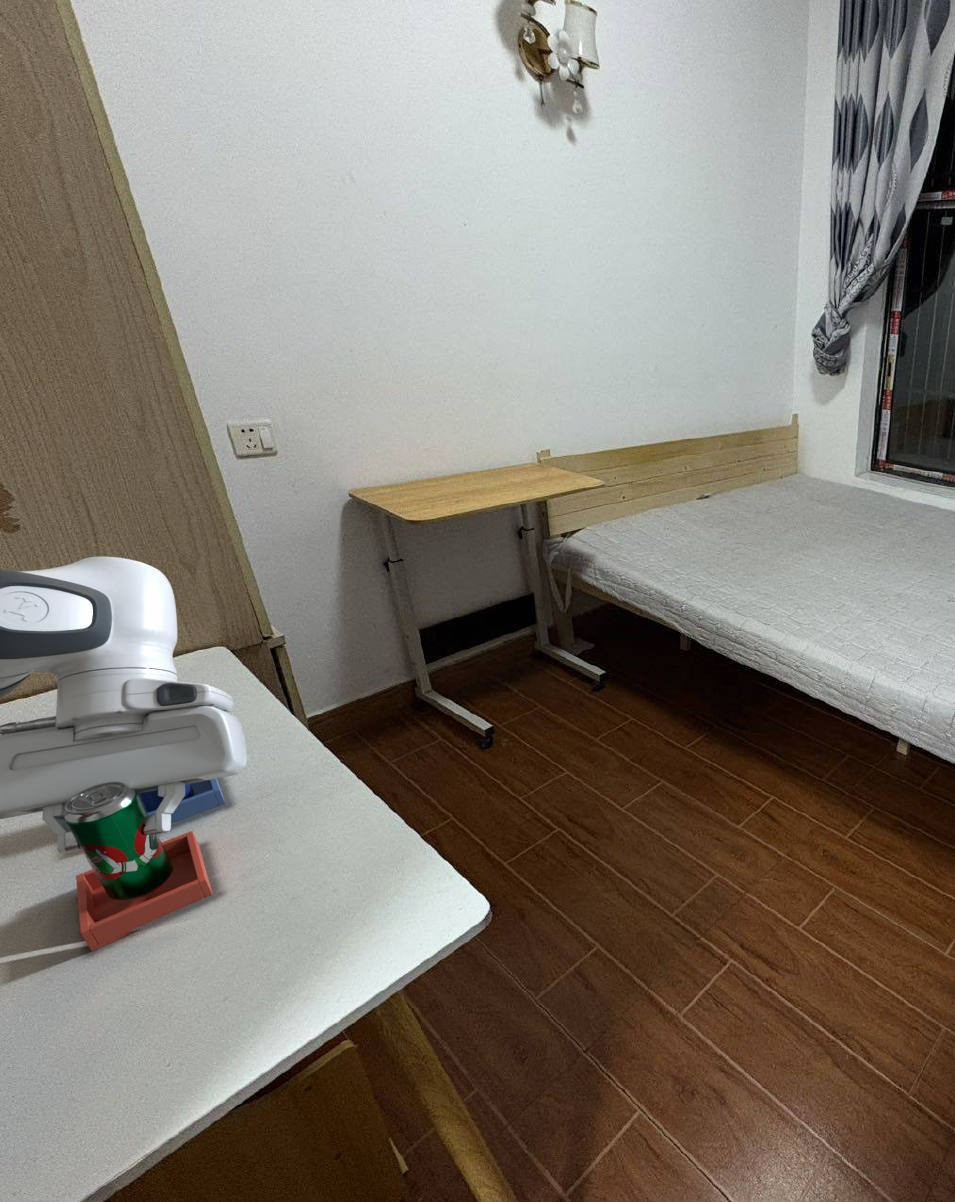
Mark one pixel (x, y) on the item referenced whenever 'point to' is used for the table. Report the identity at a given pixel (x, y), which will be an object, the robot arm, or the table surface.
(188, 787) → the blue solid cylinder
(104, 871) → the soda can
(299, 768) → the table surface
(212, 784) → the blue tray
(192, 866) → the red tray
